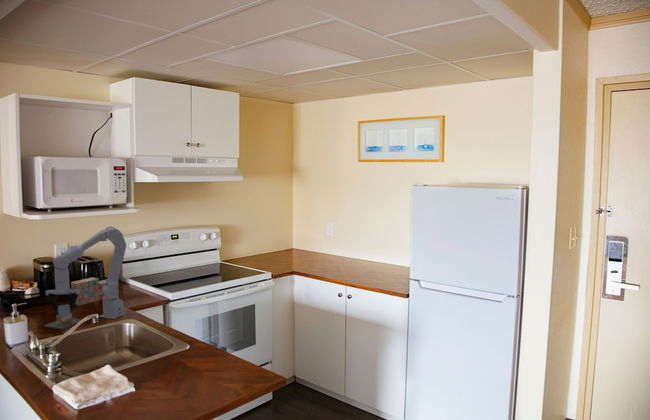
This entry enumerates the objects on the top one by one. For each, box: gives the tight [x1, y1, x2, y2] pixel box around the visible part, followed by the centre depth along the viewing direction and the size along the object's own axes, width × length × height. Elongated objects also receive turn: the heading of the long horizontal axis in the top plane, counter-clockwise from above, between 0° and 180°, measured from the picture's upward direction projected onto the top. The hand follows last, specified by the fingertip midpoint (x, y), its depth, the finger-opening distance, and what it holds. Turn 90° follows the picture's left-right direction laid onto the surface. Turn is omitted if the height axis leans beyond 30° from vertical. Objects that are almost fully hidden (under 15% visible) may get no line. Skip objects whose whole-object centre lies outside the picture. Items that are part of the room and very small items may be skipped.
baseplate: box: [43, 317, 82, 330], centre depth 218 cm, size 12×12×1 cm
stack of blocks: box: [70, 277, 107, 307], centre depth 256 cm, size 21×6×12 cm, turn 144°
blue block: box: [57, 303, 71, 317], centre depth 217 cm, size 4×4×4 cm
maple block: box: [56, 312, 73, 325], centre depth 218 cm, size 4×4×4 cm
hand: (64, 309), depth 217 cm, fingers open, 7 cm apart
